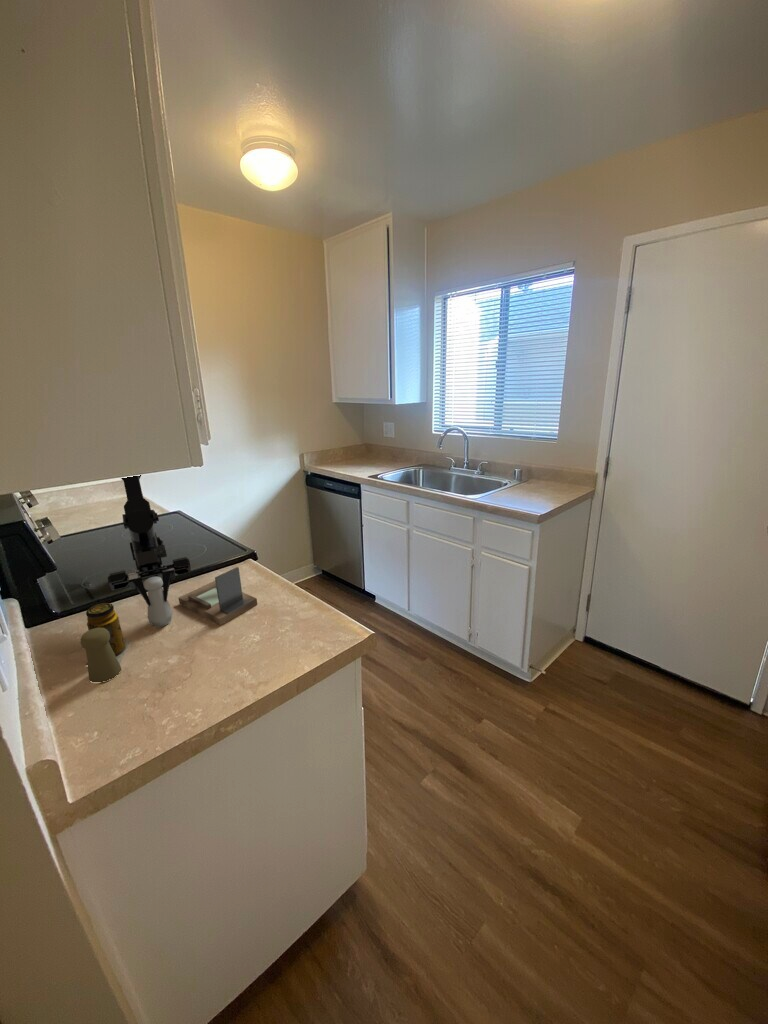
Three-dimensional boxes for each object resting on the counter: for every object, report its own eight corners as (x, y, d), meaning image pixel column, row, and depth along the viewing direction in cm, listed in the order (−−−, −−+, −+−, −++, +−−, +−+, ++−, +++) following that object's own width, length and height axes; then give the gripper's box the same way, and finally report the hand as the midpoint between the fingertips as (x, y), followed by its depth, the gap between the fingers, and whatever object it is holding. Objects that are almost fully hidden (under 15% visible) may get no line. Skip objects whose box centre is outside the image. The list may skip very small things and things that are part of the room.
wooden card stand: (179, 603, 117) (177, 593, 116) (216, 586, 127) (214, 576, 126) (220, 625, 107) (219, 614, 106) (257, 604, 117) (256, 594, 116)
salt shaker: (163, 630, 106) (153, 585, 101) (144, 628, 107) (133, 583, 102) (178, 617, 111) (170, 574, 107) (160, 615, 112) (150, 572, 108)
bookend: (220, 610, 110) (214, 577, 107) (241, 598, 116) (237, 567, 113) (228, 614, 109) (222, 580, 105) (249, 602, 114) (245, 570, 111)
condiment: (131, 640, 102) (121, 598, 98) (120, 663, 94) (108, 618, 90) (98, 645, 100) (86, 602, 96) (84, 668, 92) (70, 623, 88)
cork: (86, 673, 91) (73, 631, 87) (117, 660, 95) (106, 620, 91) (92, 688, 87) (79, 644, 83) (124, 674, 91) (113, 631, 87)
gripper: (99, 544, 100) (109, 605, 94) (183, 529, 109) (196, 583, 104) (107, 561, 108) (116, 618, 103) (184, 546, 118) (196, 596, 113)
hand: (157, 603), depth 105 cm, fingers closed on salt shaker, 3 cm apart
